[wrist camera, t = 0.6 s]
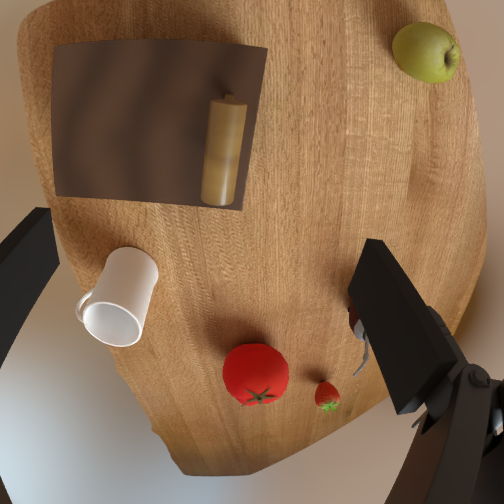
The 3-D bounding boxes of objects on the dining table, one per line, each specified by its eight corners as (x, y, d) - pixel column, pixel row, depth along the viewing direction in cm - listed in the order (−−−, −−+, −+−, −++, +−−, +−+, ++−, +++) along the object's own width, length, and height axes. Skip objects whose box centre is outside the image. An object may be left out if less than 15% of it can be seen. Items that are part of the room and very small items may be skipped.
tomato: (211, 359, 60) (210, 408, 50) (240, 322, 54) (243, 375, 45) (265, 375, 63) (270, 421, 54) (297, 341, 58) (308, 391, 49)
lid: (266, 48, 23) (284, 40, 15) (241, 207, 31) (246, 264, 23) (58, 45, 21) (-4, 48, 13) (59, 192, 29) (11, 241, 21)
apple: (367, 42, 31) (426, 29, 22) (402, 20, 31) (458, 9, 22) (398, 95, 34) (458, 96, 26) (429, 70, 34) (485, 69, 26)
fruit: (308, 387, 67) (314, 417, 60) (317, 374, 65) (324, 405, 58) (329, 388, 68) (336, 417, 62) (339, 375, 66) (347, 405, 59)
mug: (98, 294, 50) (76, 348, 40) (81, 251, 45) (50, 302, 35) (164, 289, 50) (151, 347, 40) (151, 243, 45) (131, 298, 35)
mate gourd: (386, 293, 53) (421, 357, 41) (355, 321, 57) (381, 387, 44) (361, 274, 51) (395, 343, 38) (328, 306, 54) (352, 376, 41)
